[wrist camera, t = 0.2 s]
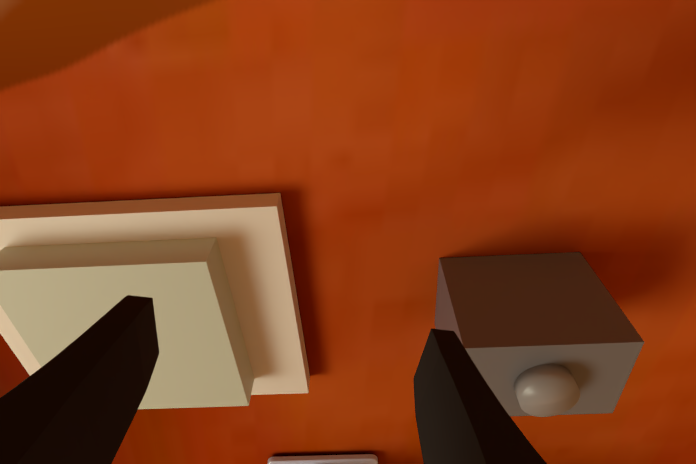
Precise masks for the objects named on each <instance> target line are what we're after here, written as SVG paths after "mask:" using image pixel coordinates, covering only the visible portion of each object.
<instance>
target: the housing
mask: <svg viewBox="0 0 696 464" xmlns="http://www.w3.org/2000/svg"><path fill="white" fill-rule="evenodd" d="M435 326H436V329H440V330H449V331H454V332H455V333H456V335H457V336H458V338H459V339H460V341H461V343H462V344H463V346H464V348H465V349H466V351H467V353H468V354H469V356H470V357H471V359H472V361H473V362H474V364H475V365H476V367H477V369H478V370H479V372H480V373H481V375H482V376H483V378H484V379H485V381H486V382H487V384H488V386H489V387H490V389H491V390H492V391H493V393H494V394H495V396H496V397H497V399H498V400H499V402H500V403H501V405H502V406H503V408H504V409H505V410H506V412H507V413H508V415H509V416H538V417H548V416H554V415H565V414H598V413H613V411H614V408H615V406H616V404H617V402H618V400H619V397H620V395H621V393H622V391H623V388H624V386H625V384H626V382H627V379H628V377H629V375H630V373H631V370H632V368H633V366H634V364H635V361H636V359H637V357H638V355H639V352H640V350H641V348H642V346H643V344H644V341H643V340H642V338H641V337H640V335H639V334H638V333H637V331H636V330H635V328H634V327H633V326H632V324H631V323H630V321H629V320H628V319H627V317H626V316H625V314H624V313H623V312H622V310H621V309H620V307H619V306H618V305H617V303H616V302H615V300H614V299H613V298H612V296H611V295H610V293H609V292H608V291H607V289H606V288H605V286H604V285H603V284H602V282H601V281H600V279H599V278H598V277H597V275H596V274H595V272H594V271H593V270H592V268H591V267H590V265H589V264H588V263H587V261H586V260H585V258H584V257H583V255H582V254H581V253H580V252H568V253H545V254H521V255H498V256H474V257H451V258H439V270H438V284H437V298H436V312H435Z"/></svg>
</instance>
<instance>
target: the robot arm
mask: <svg viewBox="0 0 696 464" xmlns="http://www.w3.org/2000/svg"><path fill="white" fill-rule="evenodd" d="M158 356H159V346H158V338H157V330H156V322H155V314H154V306H153V298H150V297H141V296H132V295H127V296H126V297H124V298H123V299H122V300H121V301H120V302H118V303H117V304H116V305H115V306H114V307H113V308H112V309H110V310H109V311H108V312H107V313H106V314H105V315H104V316H102V317H101V318H100V319H99V320H98V321H97V322H96V323H94V324H93V325H92V326H91V327H90V328H89V329H87V330H86V331H85V332H84V333H83V334H82V335H81V336H79V337H78V338H77V339H76V340H74V341H73V342H72V343H71V344H70V345H68V346H67V347H66V348H65V349H64V350H62V351H61V352H60V353H59V354H58V355H56V356H55V357H54V358H53V359H51V360H50V361H49V362H48V363H46V364H45V365H44V366H42V367H41V368H40V369H39V370H37V371H36V372H35V373H33V374H32V375H31V376H29V377H28V378H27V379H25V380H24V381H23V382H21V383H20V384H19V385H18V386H16V387H15V388H14V389H12V390H11V391H9V392H8V393H7V394H5V395H4V396H2V397H1V398H0V464H111V463H112V461H113V459H114V457H115V455H116V453H117V451H118V449H119V447H120V445H121V443H122V441H123V438H124V436H125V434H126V432H127V430H128V428H129V426H130V424H131V422H132V420H133V418H134V416H135V414H136V412H137V410H138V407H139V405H140V403H141V401H142V399H143V397H144V395H145V393H146V390H147V388H148V385H149V382H150V379H151V376H152V374H153V371H154V368H155V365H156V362H157V359H158ZM414 397H415V413H416V421H417V427H418V433H419V439H420V445H421V450H422V456H423V462H424V464H547V463H546V462H545V461H544V460H543V459H542V458H541V456H540V455H539V454H538V453H537V451H536V450H535V449H534V448H533V446H532V445H531V444H530V443H529V441H528V440H527V439H526V437H525V436H524V435H523V433H522V432H521V431H520V429H519V428H518V427H517V425H516V424H515V423H514V421H513V420H512V419H511V417H510V416H509V415H508V413H507V412H506V410H505V409H504V408H503V406H502V405H501V403H500V402H499V400H498V399H497V397H496V396H495V394H494V393H493V391H492V390H491V389H490V387H489V386H488V384H487V382H486V381H485V379H484V378H483V376H482V375H481V373H480V372H479V370H478V369H477V367H476V365H475V364H474V362H473V361H472V359H471V357H470V356H469V354H468V353H467V351H466V349H465V348H464V346H463V344H462V343H461V341H460V339H459V338H458V336H457V335H456V333H455V332H454V331H449V330H440V329H431V331H430V334H429V336H428V339H427V342H426V345H425V348H424V351H423V353H422V356H421V359H420V362H419V365H418V368H417V370H416V373H415V376H414ZM268 464H378V458H377V456H376V455H374V454H353V455H316V456H279V457H271V458H269V459H268Z"/></svg>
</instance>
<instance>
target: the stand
mask: <svg viewBox="0 0 696 464" xmlns="http://www.w3.org/2000/svg"><path fill="white" fill-rule="evenodd" d="M127 295H132V296H141V297H150V298H153V306H154V314H155V322H156V330H157V338H158V346H159V356H158V359H157V362H156V365H155V368H154V371H153V374H152V376H151V379H150V382H149V385H148V388H147V390H146V393H145V395H144V397H143V399H142V401H141V403H140V405H139V407H138V409H159V408H191V407H223V406H249V402H250V397H251V395H262V394H293V393H309V381H310V374H309V367H308V361H307V355H306V349H305V343H304V336H303V330H302V324H301V318H300V312H299V306H298V299H297V293H296V287H295V281H294V275H293V268H292V262H291V256H290V250H289V244H288V238H287V231H286V225H285V219H284V213H283V207H282V200H281V194H280V193H268V194H247V195H227V196H206V197H186V198H165V199H144V200H124V201H103V202H82V203H62V204H41V205H21V206H0V333H1V335H2V336H3V338H4V339H5V341H6V342H7V343H8V345H9V346H10V348H11V349H12V351H13V352H14V353H15V355H16V356H17V358H18V359H19V361H20V362H21V364H22V365H23V366H24V368H25V369H26V371H27V372H28V374H29V375H30V376H31V375H32V374H33V373H35V372H36V371H37V370H39V369H40V368H41V367H42V366H44V365H45V364H46V363H48V362H49V361H50V360H51V359H53V358H54V357H55V356H56V355H58V354H59V353H60V352H61V351H62V350H64V349H65V348H66V347H67V346H68V345H70V344H71V343H72V342H73V341H74V340H76V339H77V338H78V337H79V336H81V335H82V334H83V333H84V332H85V331H86V330H87V329H89V328H90V327H91V326H92V325H93V324H94V323H96V322H97V321H98V320H99V319H100V318H101V317H102V316H104V315H105V314H106V313H107V312H108V311H109V310H110V309H112V308H113V307H114V306H115V305H116V304H117V303H118V302H120V301H121V300H122V299H123V298H124V297H126V296H127Z"/></svg>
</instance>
